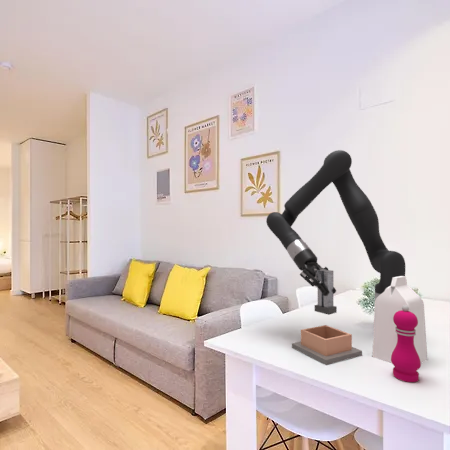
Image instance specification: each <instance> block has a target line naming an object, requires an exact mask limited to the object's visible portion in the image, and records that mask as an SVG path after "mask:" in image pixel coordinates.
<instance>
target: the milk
mask: <svg viewBox="0 0 450 450" xmlns="http://www.w3.org/2000/svg"><path fill="white" fill-rule="evenodd" d="M404 305H406V306H408V307H409V310H408V311H410V312H412V313H414V314H415V315H416V317H417V319H418V325H417V326H416V327H415V328H414V329H415V330H416V332H415V333H416V335H415V336H414V346H415V349H416V351H417V353H418V355H419V358H420V362H421V364H423V363H424V362H426V361H428V360H429V358H428V346H427V345H428V343H427V333H426V332H427V330H426V328H427V327H426V316H425V302H424V300H423V299H422V297H421V296H420V295H419V294H418V293H417V292H415V290H414V289H413V288H411V286H409V285H408V282H407V277H406V275H405V276H398V277H393V278H392V282H391V286H389V287H387V288H386V289H385V291H384V292H383V293H382V294H380V295H379V296H378V297H377V298H376V300H375V299H374V312H373V313H374V314H373V333H372V334H373V337H372V357H373V358H375V359H378V360H381V361H383V362H387V363H391V364H392V362H391V355H392V352H393V350H394V349H395V347H396V344H397V333H396V332H395V330H396V329H395V327H397V326H396V325H395V323H394V321H393V317H394V314H395V313H396V312H398V311H401V310H402V306H404ZM427 359H428V360H427ZM425 360H426V361H425Z"/></svg>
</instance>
